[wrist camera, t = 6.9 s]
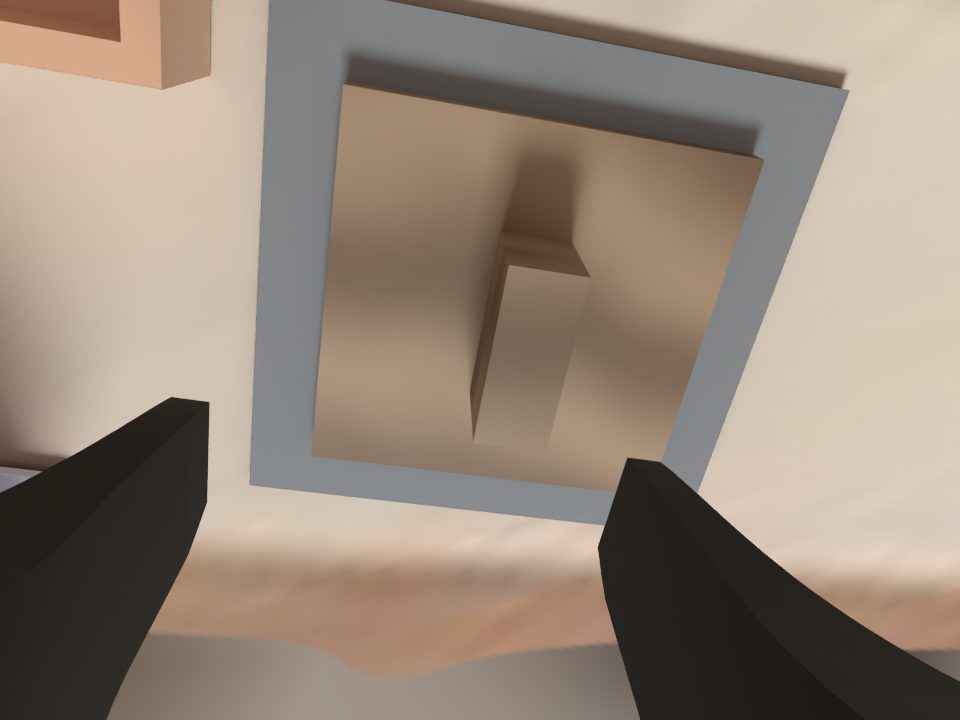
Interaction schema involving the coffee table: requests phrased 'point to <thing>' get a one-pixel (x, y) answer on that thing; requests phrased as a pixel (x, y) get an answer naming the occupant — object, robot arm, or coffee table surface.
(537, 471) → the lid
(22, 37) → the dish
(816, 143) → the mat
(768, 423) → the coffee table surface
